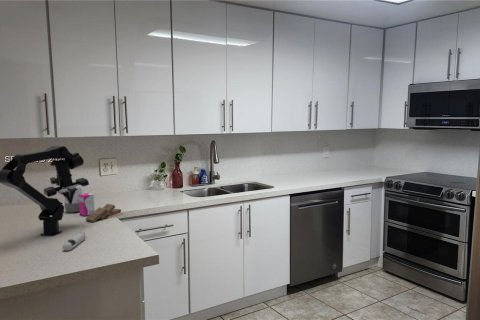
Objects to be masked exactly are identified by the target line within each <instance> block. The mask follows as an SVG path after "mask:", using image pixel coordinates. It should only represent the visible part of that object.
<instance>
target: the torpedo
mask: <svg viewBox="0 0 480 320" xmlns="http://www.w3.org/2000/svg"><path fill="white" fill-rule="evenodd" d="M81 226H82V225H80V226H79V227H80V229H79V230H80V231H79V233H77V234H75V235H74V236H72V237H71V238H69V239H68V240H67V242H64V243H63V244H62V249H63V251H66V252H69V251H71V250H73V249H74V248H76V247H78V245H79V244H81V243H82V242H83V241H84V240H85V238H86V237H87V235H88V234H87V233H86V232H85V231H83V232H82V231H81V228H82V227H81Z"/></svg>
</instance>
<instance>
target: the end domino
mask: <svg viewBox="0 0 480 320" xmlns="http://www.w3.org/2000/svg"><path fill="white" fill-rule="evenodd" d="M123 214H124V212H122V211H121V212H120V213H117V214H115V215H112V216H109V217H108V216H106V217H105V218H104V219H111V218H114V217H118V216H121V215H123Z"/></svg>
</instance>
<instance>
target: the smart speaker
mask: <svg viewBox="0 0 480 320" xmlns="http://www.w3.org/2000/svg"><path fill="white" fill-rule="evenodd" d="M76 188H77V190H76V191H75V194H74V197H73V200H72V204H69V203H68V201H67V200H66V198H65V197H64V211H65V212H67V213H68V214H76V213H80V209H79V195H80V194H83V193H82V186H81V187H79V186H78V187H76ZM66 191H67V189H66Z"/></svg>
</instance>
